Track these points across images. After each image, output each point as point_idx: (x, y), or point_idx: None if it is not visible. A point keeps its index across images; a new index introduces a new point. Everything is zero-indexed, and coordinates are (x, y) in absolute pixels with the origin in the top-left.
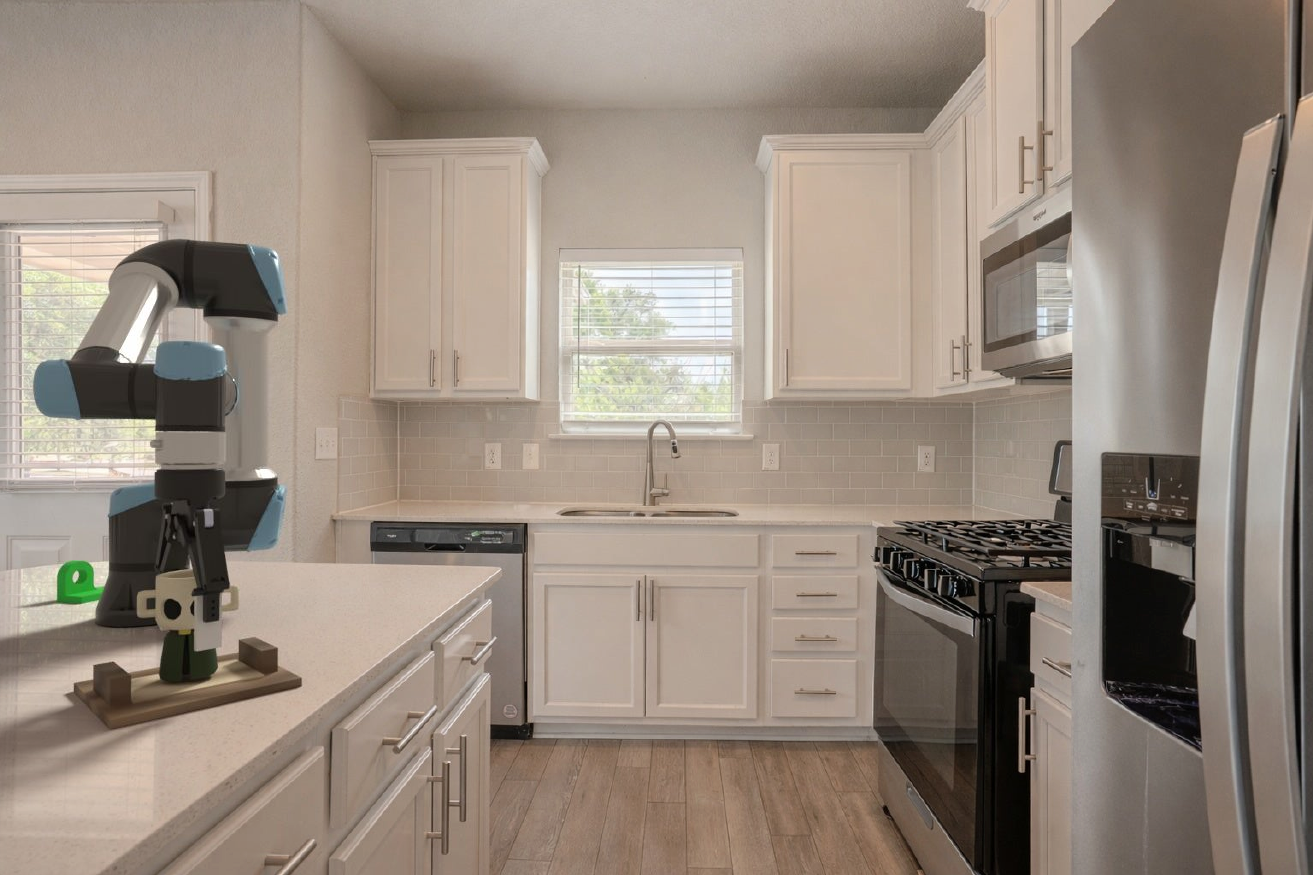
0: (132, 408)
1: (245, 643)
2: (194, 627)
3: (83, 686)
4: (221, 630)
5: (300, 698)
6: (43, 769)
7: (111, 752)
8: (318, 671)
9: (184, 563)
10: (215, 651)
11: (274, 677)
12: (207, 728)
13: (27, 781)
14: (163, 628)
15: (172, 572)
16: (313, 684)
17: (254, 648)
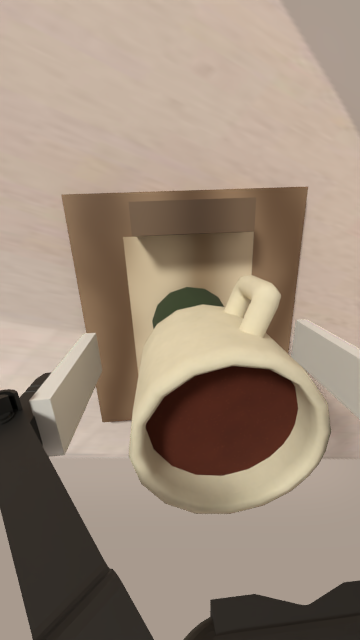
0: None
1: (169, 234)
2: (315, 378)
3: (128, 415)
4: (326, 330)
5: (351, 215)
6: (332, 443)
7: (340, 406)
8: (246, 128)
9: (41, 448)
10: (211, 299)
11: (272, 221)
12: (354, 334)
13: (348, 451)
14: (101, 370)
15: (151, 475)
16: (307, 170)
17: (218, 232)
